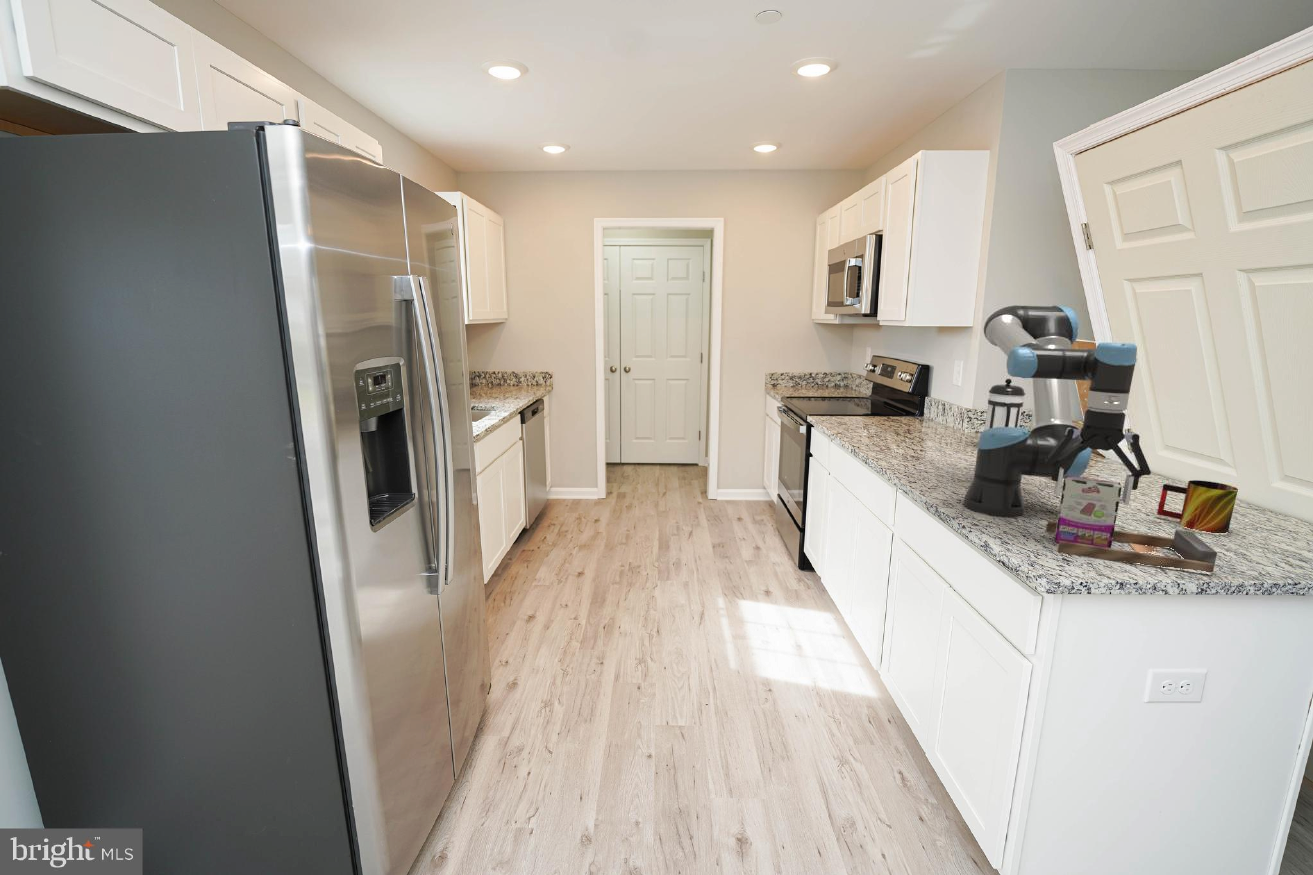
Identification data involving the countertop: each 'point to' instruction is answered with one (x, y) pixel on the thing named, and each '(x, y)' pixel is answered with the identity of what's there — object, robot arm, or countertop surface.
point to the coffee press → (1004, 406)
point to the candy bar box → (1088, 511)
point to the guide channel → (1148, 549)
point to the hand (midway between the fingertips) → (1090, 498)
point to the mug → (1202, 505)
